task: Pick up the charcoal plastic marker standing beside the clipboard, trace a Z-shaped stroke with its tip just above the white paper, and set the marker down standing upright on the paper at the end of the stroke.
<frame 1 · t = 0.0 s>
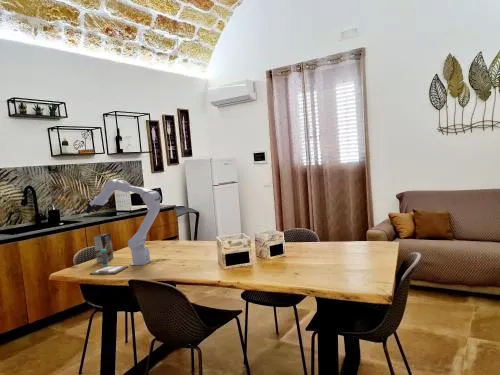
hand: (91, 211, 221), 32 cm above the table, tool tilted 50°, fingers open, 7 cm apart
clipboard: (109, 270, 207), on the table
coffee box: (105, 260, 234), on the table
marker: (105, 266, 218), on the table
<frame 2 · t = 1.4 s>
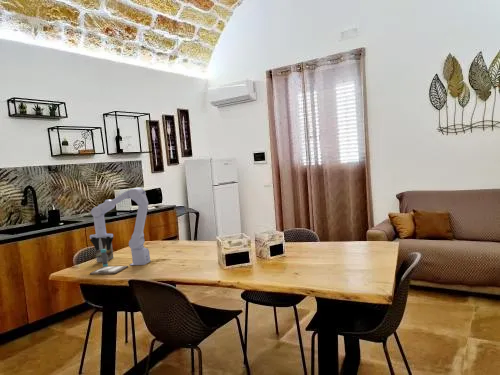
hand: (103, 250, 217), 10 cm above the table, tool pointing down, fingers open, 7 cm apart
nothing on the table moved.
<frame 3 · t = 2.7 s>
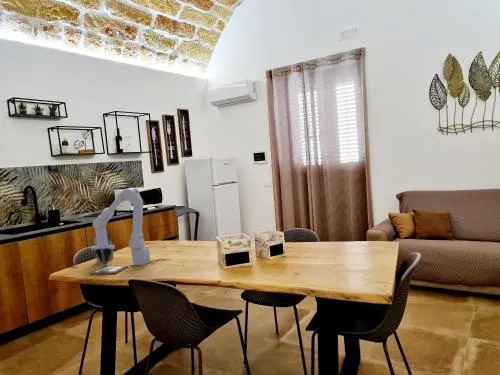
hand: (104, 261, 218), 3 cm above the table, tool pointing down, fingers closed on marker, 3 cm apart
marker: (105, 266, 218), on the table, touching gripper
everything else where it was.
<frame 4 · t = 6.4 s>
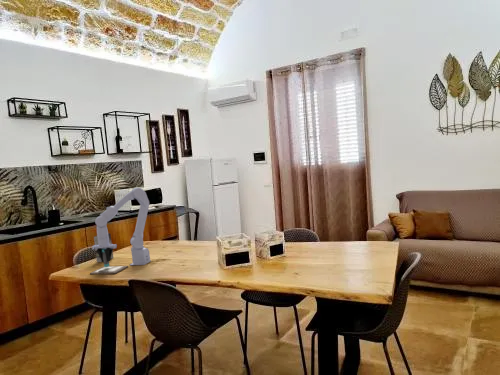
hand: (106, 261, 209), 5 cm above the table, tool pointing down, fingers closed on marker, 3 cm apart
marker: (106, 266, 209), point 2 cm above the table, touching gripper
everything else where it was.
when the fingers open (4 cm above the table, at t = 10.3 s): marker stays where it is, resting on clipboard.
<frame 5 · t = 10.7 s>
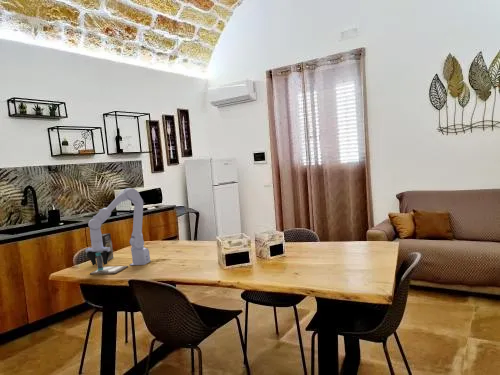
hand: (99, 264, 206), 4 cm above the table, tool pointing down, fingers open, 7 cm apart
marker: (100, 270, 206), point 1 cm above the table, touching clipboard
everything else where it was.
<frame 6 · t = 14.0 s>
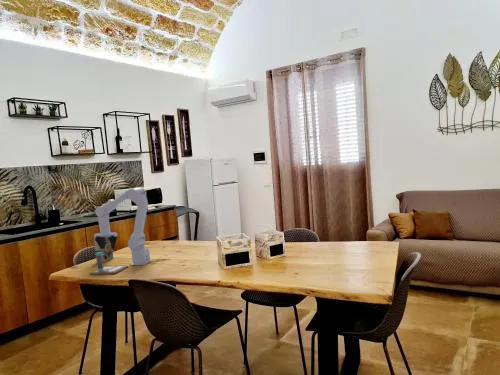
hand: (107, 248, 221), 9 cm above the table, tool pointing down, fingers open, 7 cm apart
nothing on the table moved.
at the end: marker 0.1 cm from the target spot on the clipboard, point 1.0 cm above the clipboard's base; marker tilted 0°; the gripper is holding nothing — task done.
